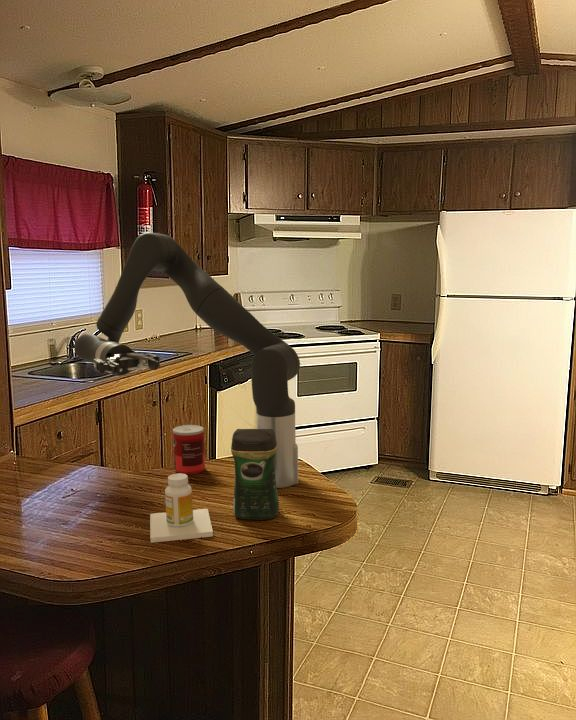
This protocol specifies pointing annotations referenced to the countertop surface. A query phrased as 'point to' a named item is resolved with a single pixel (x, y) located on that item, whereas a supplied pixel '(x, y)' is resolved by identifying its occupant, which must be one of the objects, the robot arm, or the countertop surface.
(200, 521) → the bay plate
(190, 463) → the canned food
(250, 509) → the coffee jar
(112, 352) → the robot arm
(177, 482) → the supplement bottle
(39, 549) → the countertop surface
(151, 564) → the countertop surface
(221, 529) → the countertop surface
